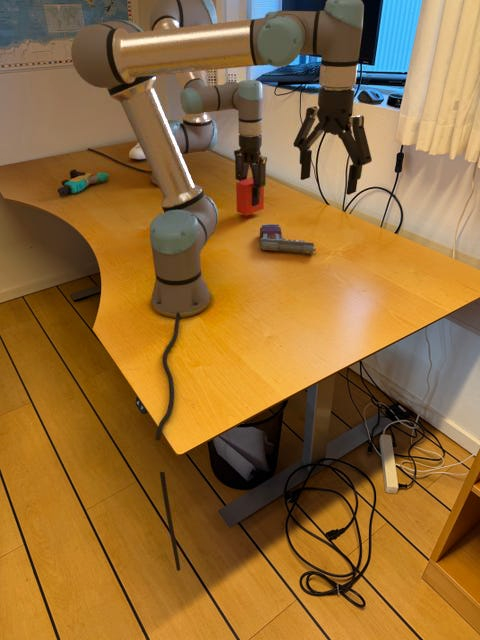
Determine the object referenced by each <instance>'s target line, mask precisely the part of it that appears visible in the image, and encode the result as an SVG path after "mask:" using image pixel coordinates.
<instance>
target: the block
mask: <svg viewBox="0 0 480 640" xmlns="http://www.w3.org/2000/svg"><path fill="white" fill-rule="evenodd" d="M235 183H236V184H235V185H236V186H235V188H236V190H235V191H236V193H235V194H236V212H237V213H239V214H241V215H244V216H249V215H251V214H253V213H256V212H258V211H261V210H263V209H264V208H265V207H264V203H265V202H264V201H265V186H263V187H261V192H260V196H259V204H258V205H256V206H252V187H254V183H253V176H251V177H247V179H245V180H242V181H239V180H238V181H236V182H235ZM257 184H258V183H257Z"/></svg>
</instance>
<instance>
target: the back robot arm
mask: <svg viewBox="0 0 480 640" xmlns="http://www.w3.org/2000/svg"><path fill="white" fill-rule="evenodd" d="M215 23H218V14H217V10H216V7H215V4H214V2H213V0H157V1H156V2H155V4H154V5H153V6H152V9H151V11H150V15H149V29H150V30H149V31H154V30H163V29H172V28H181V27H189V26H198V25H207V24H215ZM173 74H174V76H175V78H176V80H177V82H178V84H179V86H180V88H181V91H180V95H179V101H180V105H181V109H182V111H183V112H184V113H185V114H184V115H182V123H181V122H179V121H178V120H177V119H167V120H168V123H169V125H170V127H171V130H172V132H173V135H174V137H175V139H176V142H177V144H178V147H179V149H180V151H181V154H182V155H187V154H192V153H193V154H194V153H200V152H201V153H203V152H206V151H210V150H213V149H214V148H215V146H216V144H217V142H218V133H219V132H218V128H217V127H218V125H217V124H216V121H215V120H213V117H212V115H211V114H210V113H212V112H220V111H221V112H223V111H228V110H229V111H230V110H236V111H237V114H238V134H239V135H238V147H239V149H236V150H234V151H233V155H234V163H235V164H234V165H235V166H234V169H235V172H234V173H235V174H234V175H235V180H236V181H237V180H238V182H239V181H242V180H245V179H248V174H249V168H250V170H251V177H253V183H254V187H252V206H256V205H258V204H259V196H260V192H261V187H263V186H264V187H265V186H266V180H267V179H266V177H267V174H266V173H267V172H266V171H267V162H268V157H267V156H263V155H262V152H261V147H262V145H263V143H262V142H263V135H262V132H263V129H262V128H263V99H264V98H263V97H264V94H263V83H262V82H261V81H259V80H257V79H244V80H241V81H239V82H236V81H226V82H225V83H223V84H214V85H208V84H209V83H208V79H209V78H208V77H209V75H208V70H205V71H194V72H184V73H173ZM87 150H88V151H91V152H94V153H97V154H99V155H102V156H104V157H106V158H108V159H110V160H112V161H114V162H116V163H118V164H121V165H122V166H124V167H125V166H126V167H128V168H131V169H132V170H136V171H139V172H143V173H150V174H151V177H150V179H151V180H150V181H151V184H152V185H153V186H155V187H158V188H159V186H158V183H157V181H156V179H155V177H154V175H153V173H152V170H146V169H142V168H138V167H136V166H133V165H130V164H126V163H124V162H122V161H121V160H118V159H115V158H113V157H111V156H109V155H107V154H105V153H103V152H101V151H98V150H96V149H94V148H90V147H88V148H87ZM257 183H258V184H257Z"/></svg>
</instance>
